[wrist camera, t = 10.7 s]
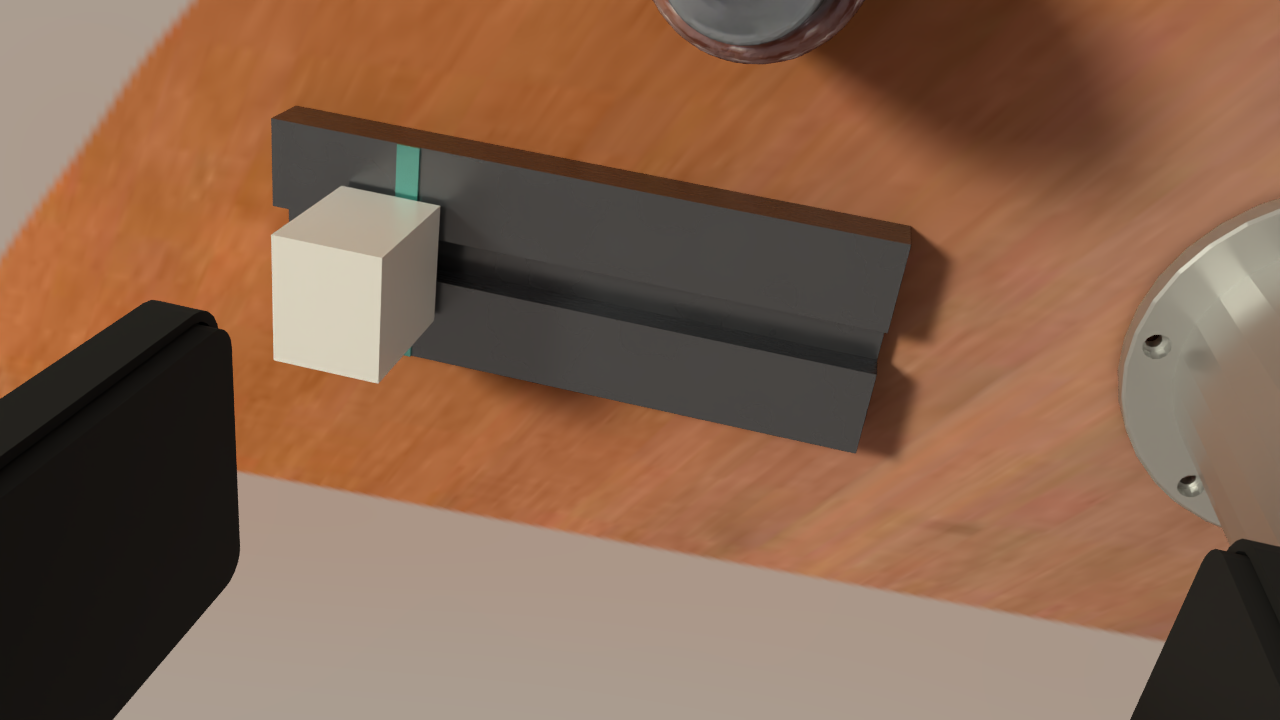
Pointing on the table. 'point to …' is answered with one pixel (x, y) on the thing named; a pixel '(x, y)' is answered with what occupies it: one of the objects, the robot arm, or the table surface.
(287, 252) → the fader tab
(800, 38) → the supplement bottle
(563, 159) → the fader housing
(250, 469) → the table surface
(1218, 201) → the table surface
